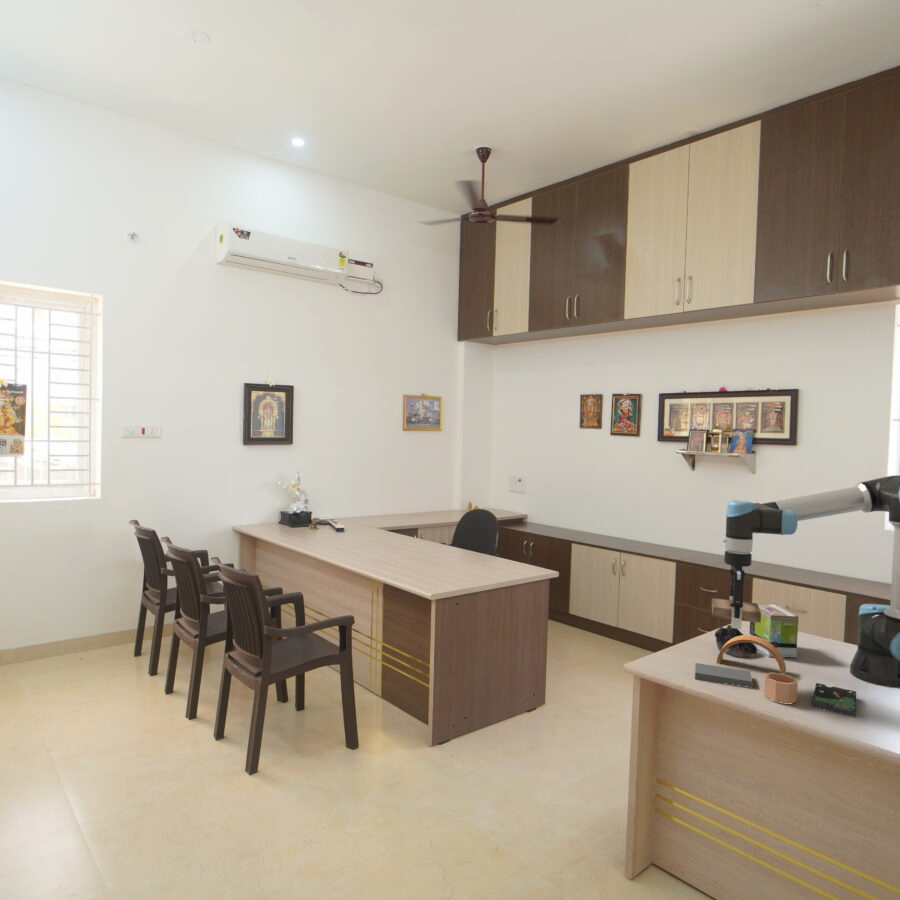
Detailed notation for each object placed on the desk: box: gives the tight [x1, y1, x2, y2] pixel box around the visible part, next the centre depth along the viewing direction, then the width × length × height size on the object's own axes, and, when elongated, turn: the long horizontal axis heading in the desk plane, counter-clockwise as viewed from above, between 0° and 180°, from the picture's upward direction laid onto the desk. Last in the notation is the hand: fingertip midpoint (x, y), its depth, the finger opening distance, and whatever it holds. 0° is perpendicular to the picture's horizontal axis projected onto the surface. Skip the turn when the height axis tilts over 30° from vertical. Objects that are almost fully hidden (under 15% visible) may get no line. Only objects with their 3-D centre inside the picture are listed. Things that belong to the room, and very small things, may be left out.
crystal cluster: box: [714, 624, 758, 658], centre depth 221 cm, size 13×14×10 cm
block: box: [694, 662, 753, 688], centre depth 195 cm, size 16×9×2 cm, turn 68°
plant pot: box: [763, 672, 799, 705], centre depth 181 cm, size 8×8×6 cm
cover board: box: [711, 597, 761, 623], centre depth 192 cm, size 13×11×3 cm
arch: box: [716, 634, 787, 674], centre depth 205 cm, size 6×20×10 cm, turn 57°
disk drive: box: [811, 682, 857, 718], centre depth 179 cm, size 10×3×15 cm
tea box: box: [748, 603, 799, 658], centre depth 222 cm, size 15×10×15 cm
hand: (734, 622), depth 192 cm, fingers closed on cover board, 11 cm apart
